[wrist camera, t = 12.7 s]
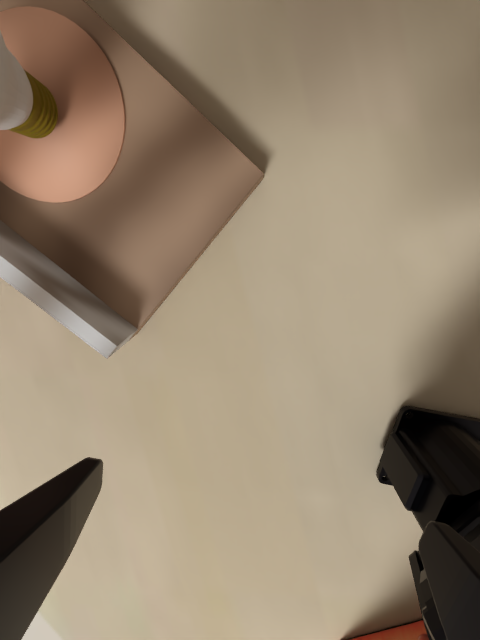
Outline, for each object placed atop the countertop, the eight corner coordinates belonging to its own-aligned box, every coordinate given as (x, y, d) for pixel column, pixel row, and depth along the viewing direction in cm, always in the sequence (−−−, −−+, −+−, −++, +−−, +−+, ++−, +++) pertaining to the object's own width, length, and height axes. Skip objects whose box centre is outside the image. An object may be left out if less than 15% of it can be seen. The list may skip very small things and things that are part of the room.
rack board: (263, 178, 18) (265, 160, 14) (137, 333, 21) (106, 358, 17) (-70, -140, 15) (-206, -295, 10) (-159, 97, 18) (-291, 54, 14)
